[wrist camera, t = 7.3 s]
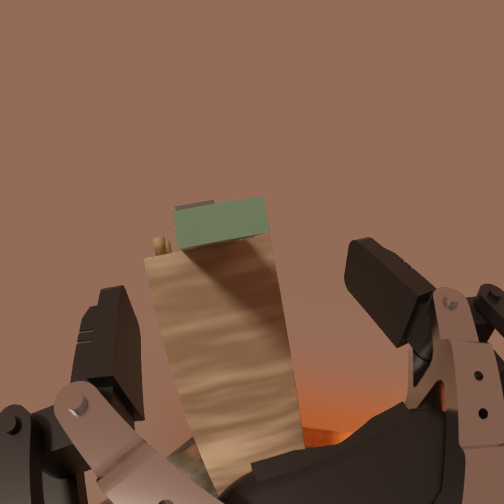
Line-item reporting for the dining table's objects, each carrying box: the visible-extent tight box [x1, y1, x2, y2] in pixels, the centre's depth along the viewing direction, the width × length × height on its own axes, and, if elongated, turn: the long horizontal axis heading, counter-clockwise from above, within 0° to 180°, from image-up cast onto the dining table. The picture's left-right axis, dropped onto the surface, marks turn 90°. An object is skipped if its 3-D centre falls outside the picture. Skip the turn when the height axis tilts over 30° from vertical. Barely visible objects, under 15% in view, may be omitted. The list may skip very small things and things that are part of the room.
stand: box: [144, 235, 305, 496], centre depth 29 cm, size 14×10×34 cm
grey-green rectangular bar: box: [173, 197, 270, 251], centre depth 23 cm, size 22×4×5 cm, turn 13°
